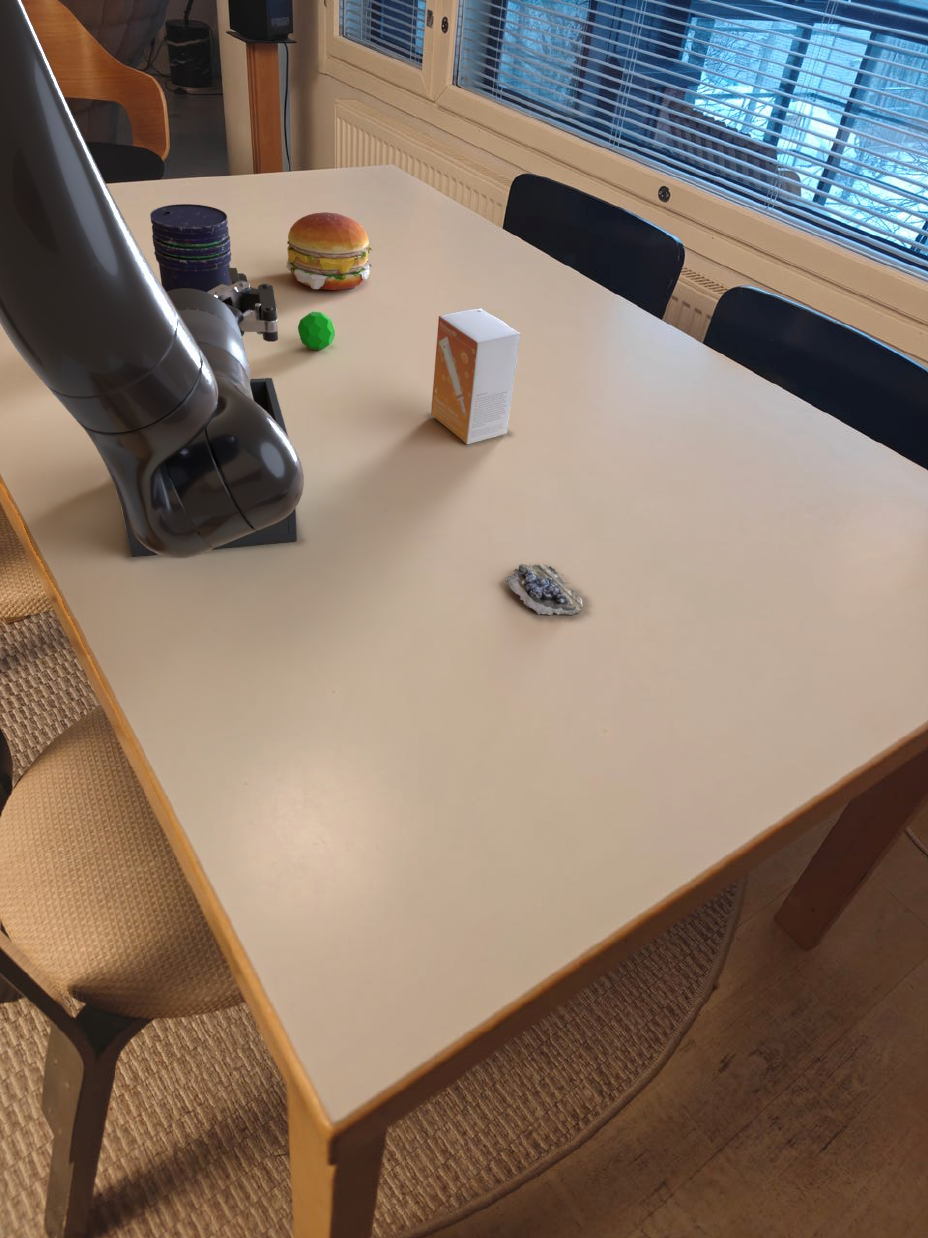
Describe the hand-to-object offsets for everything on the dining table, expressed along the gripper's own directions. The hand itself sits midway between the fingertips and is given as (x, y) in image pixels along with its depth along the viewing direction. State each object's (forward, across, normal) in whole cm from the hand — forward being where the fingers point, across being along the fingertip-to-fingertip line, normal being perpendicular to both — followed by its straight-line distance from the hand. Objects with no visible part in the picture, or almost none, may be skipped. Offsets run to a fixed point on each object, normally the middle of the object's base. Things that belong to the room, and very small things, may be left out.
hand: (181, 279), depth 74 cm
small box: (+13, -32, +23) cm, 42 cm away
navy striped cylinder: (+45, -2, +24) cm, 51 cm away
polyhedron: (+37, -17, +24) cm, 47 cm away
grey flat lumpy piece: (-20, -30, +23) cm, 43 cm away
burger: (+62, -24, +24) cm, 71 cm away
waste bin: (0, 0, +23) cm, 23 cm away
